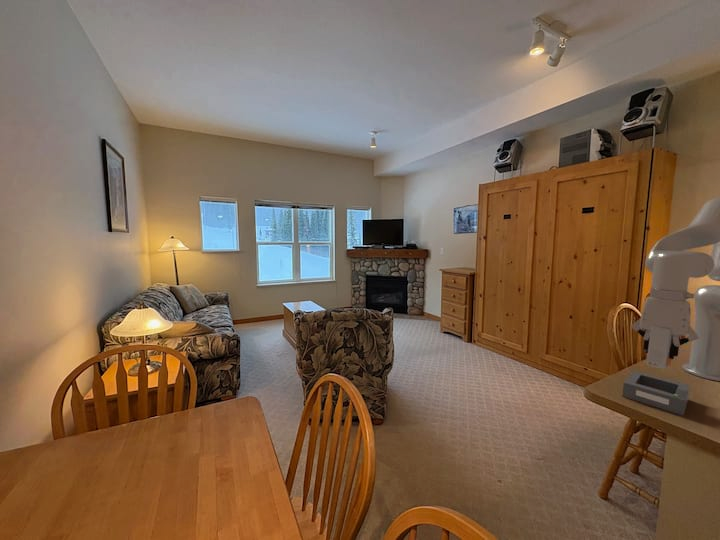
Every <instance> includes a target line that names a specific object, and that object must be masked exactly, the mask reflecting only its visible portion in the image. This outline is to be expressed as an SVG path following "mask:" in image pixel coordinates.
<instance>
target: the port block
mask: <svg viewBox="0 0 720 540" xmlns="http://www.w3.org/2000/svg"><path fill="white" fill-rule="evenodd" d="M690 389H691V385H690V384H686V383H682V382H679V381H676V380H675V381H674V380H672V379H667V378H664V377H660V376H657V375H652V374H650V373H644V372H640V371H638V370H633V371H631V373H630V374H629V375H628V376H627V378H626V379H625V380H624V382H623V388H622V394H621V395H622V397H623V398H626V399H628V400H631V401H636V402H638V403H642V404H644V405H648V406H651V407H654V408H657V409H661V410H663V411H667V412H670V413H672V414H676V415H679V416H684V414H685V412H686V408H687V405H688V402H689V398H690V397H689V396H690Z"/></svg>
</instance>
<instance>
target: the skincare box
mask: <svg viewBox="0 0 720 540" xmlns="http://www.w3.org/2000/svg"><path fill="white" fill-rule="evenodd" d="M672 344H673V337H672V335H671V329H666V328H660V327H654V326H652V327H651V333H650V341H649V348H648V354H647V356H646V365H647V366H650V367H654V368H657V369H661V370H664V371H665V370H666V369H667V368H668V367H670V366H671V361H672V359H671V358H670V351H671V345H672Z"/></svg>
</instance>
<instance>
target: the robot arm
mask: <svg viewBox="0 0 720 540" xmlns="http://www.w3.org/2000/svg"><path fill="white" fill-rule="evenodd" d="M708 246H712V249H711V255H710V254H708V253H705V252H701V251H687V250H692V249H697V248H702V247H703V248H704V247H708ZM644 265H645V268H646V269H647V271H649V272H650V273H652V274H651V284H650V292H649V296H647V297H645V301H644V303H643V307H642V309H641V310H642V311H641V314H640V318H639V319H638V320H636V321H635V322H634V323H632V324H630V328H632V330H634V331H635V332H637V333H638V335H639V336H641V337H642V338H643V340H644V341H643V350H645V354H647V355H648V348H649V341H650V333H651V327H652V326H654V327H660V328H666V329H671V335H672V337H673V344H672V345H671V351H670V358H671V360H674V359H675V357H678V356H679V350H680V349H679V348H680V346H682V345H684V344H687V343H689V342H691V348H690V355H689V360H688V361H689V362H687V363H683V364H682V367H681V368H682V369H683V371H685V372H687V373H689V374H691V375H693V376H696V377H700V378H703V379H707V380H712V381H718V382H720V285H719V284H718V285H717V284H707V285H702V286H700V287H698V288H697V289H696V290H695V292H694V293H690V292H689V291H688V287H689V280H690V278H693V279H697V278H698V279H699V278H704V277H706V276H707V277H708V278H709V280H711V281H716V282H720V197H715V198H712V199H710V200H708V201H706V202H705V203H704V204H703V205H702V207H701V208H700V210H699V211H698V212H697V213H696V215H695V216H694V218H693V219H692V221H691V222H690V223H689V225H688V226H686V227H683V228H681V229H679V230H676V231H675V232H672V233H669V234H667V235H665V236H663V237H662V238H660V239H658V241H657V242H655V244H654V245H653V247H652V248H651V249H650V251H649V253H648V254H647V256H646V259H645V264H644ZM688 299H694V308H695V309H694V311H695V314H694V315H695V316H694V317H695V318H694V323H693V324H694V325H693V328H692V326H691V311H692V310H691V303H690V301H689V300H688ZM687 334H688V335H689V336H687ZM681 337H682V338H681Z"/></svg>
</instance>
